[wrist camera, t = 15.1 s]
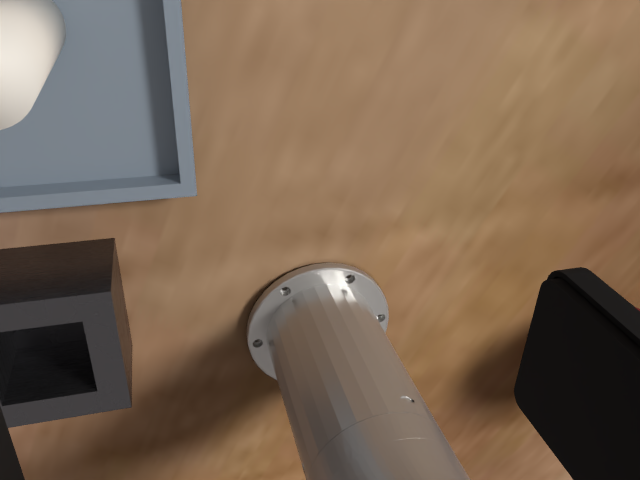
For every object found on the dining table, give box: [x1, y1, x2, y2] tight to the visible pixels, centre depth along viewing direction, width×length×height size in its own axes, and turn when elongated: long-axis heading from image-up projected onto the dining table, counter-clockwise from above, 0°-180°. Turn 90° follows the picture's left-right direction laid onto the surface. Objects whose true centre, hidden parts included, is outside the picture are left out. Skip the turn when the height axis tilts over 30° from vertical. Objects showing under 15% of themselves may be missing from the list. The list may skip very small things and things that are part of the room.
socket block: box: [0, 238, 132, 428], centre depth 41 cm, size 10×10×7 cm
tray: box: [0, 0, 197, 213], centre depth 34 cm, size 22×18×2 cm
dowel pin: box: [0, 0, 66, 130], centre depth 29 cm, size 4×4×12 cm
